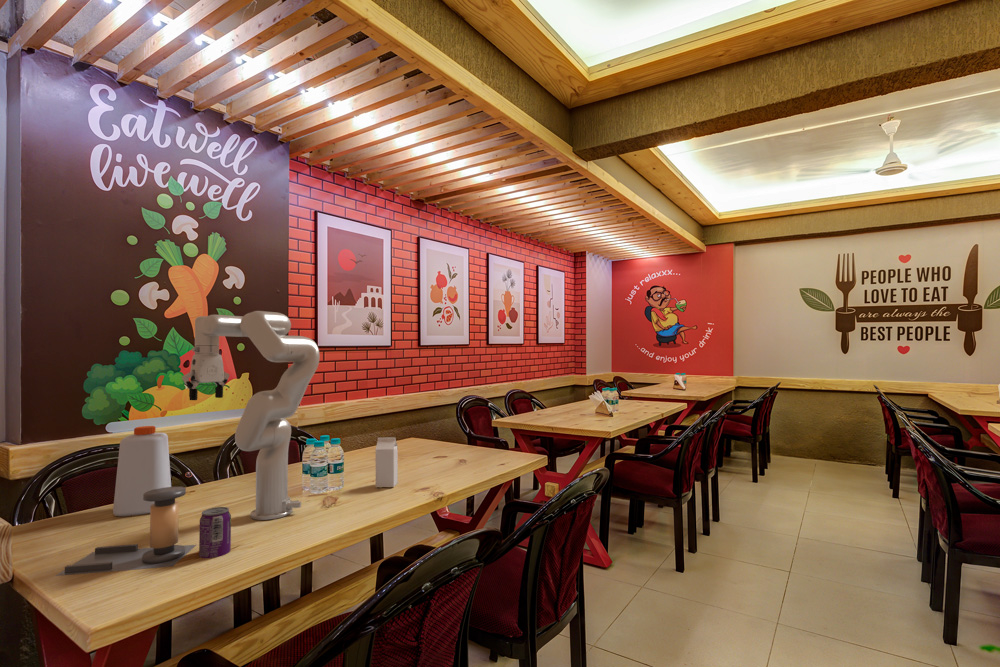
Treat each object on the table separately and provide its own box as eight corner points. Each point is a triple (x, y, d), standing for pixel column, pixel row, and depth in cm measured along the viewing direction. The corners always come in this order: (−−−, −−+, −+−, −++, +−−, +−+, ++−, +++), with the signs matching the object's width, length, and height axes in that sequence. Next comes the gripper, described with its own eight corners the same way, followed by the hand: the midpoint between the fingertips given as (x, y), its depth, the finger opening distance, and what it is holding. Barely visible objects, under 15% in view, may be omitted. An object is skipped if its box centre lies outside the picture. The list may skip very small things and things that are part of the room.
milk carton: (393, 488, 193) (393, 439, 193) (375, 488, 193) (375, 439, 194) (397, 483, 200) (397, 435, 201) (380, 483, 200) (380, 436, 201)
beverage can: (236, 552, 132) (237, 506, 132) (218, 563, 125) (219, 515, 125) (211, 551, 132) (212, 506, 133) (192, 562, 125) (193, 514, 126)
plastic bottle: (109, 519, 160) (110, 431, 161) (123, 506, 173) (124, 425, 175) (164, 512, 166) (166, 428, 167) (174, 500, 179) (175, 422, 181)
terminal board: (197, 549, 134) (197, 538, 134) (172, 571, 120) (172, 560, 120) (92, 556, 130) (92, 546, 130) (54, 580, 116) (55, 569, 116)
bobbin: (191, 548, 132) (191, 485, 132) (175, 562, 123) (176, 495, 123) (153, 551, 130) (154, 487, 131) (134, 565, 121) (135, 497, 122)
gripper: (190, 350, 168) (190, 401, 167) (235, 350, 184) (235, 397, 183) (176, 351, 171) (175, 400, 170) (221, 351, 187) (221, 396, 186)
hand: (206, 398), depth 177 cm, fingers open, 9 cm apart
